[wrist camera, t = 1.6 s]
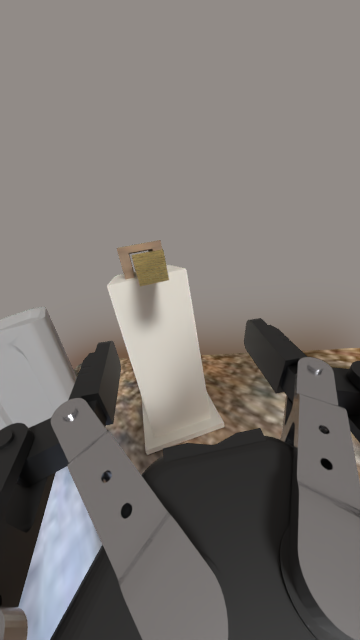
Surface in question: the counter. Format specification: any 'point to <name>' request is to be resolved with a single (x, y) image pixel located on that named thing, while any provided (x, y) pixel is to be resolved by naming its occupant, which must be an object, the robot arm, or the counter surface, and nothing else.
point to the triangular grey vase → (32, 369)
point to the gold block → (150, 267)
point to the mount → (163, 353)
